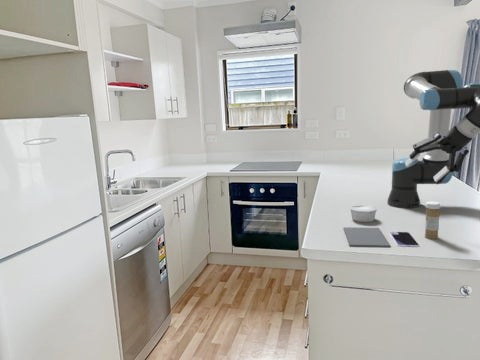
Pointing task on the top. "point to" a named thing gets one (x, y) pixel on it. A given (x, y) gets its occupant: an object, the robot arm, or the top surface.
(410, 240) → the mobile phone
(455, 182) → the top surface
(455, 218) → the top surface
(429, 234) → the sprinkles bottle
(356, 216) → the ramekin
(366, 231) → the charcoal mat
